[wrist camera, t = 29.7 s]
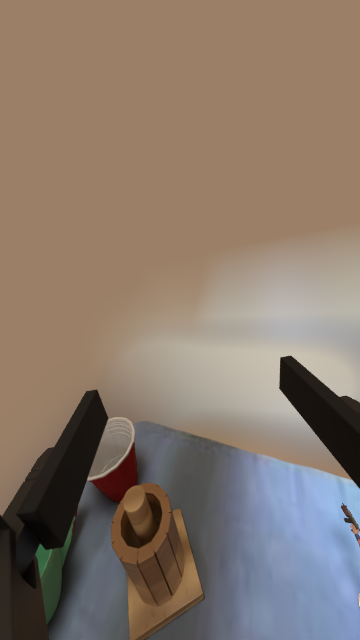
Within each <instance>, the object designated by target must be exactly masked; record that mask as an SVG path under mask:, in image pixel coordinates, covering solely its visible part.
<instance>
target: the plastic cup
mask: <svg viewBox="0 0 360 640" xmlns="http://www.w3.org/2000/svg"><path fill="white" fill-rule="evenodd" d="M134 436H135V430H134V427H133V425H132V422H130V421H129V420H127V419H126V418H119V417H115V418H111V419H108V421H107V424H106V427H105V430H104V433H103V436H102V438H101V441H100V444H99V447H98V450H97V453H96V455H95V458H94V461H93V464H92V467H91V470H90V473H89V475H88V478H87V480H88V481H90V482H92V483H93V484H94V485H95V486H96V487H97V488H98V489H99V490H100V491H101V492H102V493H103V494H105V495H106V496H107V497H108V498H109V499H110V500H112V501H115V502H120V501H121V500H122V499H123V498H124V496H125V494H126V492H127V491H128V490H129V489H130V488H131V487H133V486H136V484H137V462H136V454H135V447H134V445H135V443H134Z"/></svg>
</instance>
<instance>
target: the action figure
mask: <svg viewBox="0 0 360 640" xmlns="http://www.w3.org/2000/svg"><path fill="white" fill-rule="evenodd" d="M342 504H343V503H342ZM346 507H347V506H345V505H344V504H343V506H341V508H342V510H343V512H344V513H345V515H346V516H347V517H349V518H344V520H345V522H347V523H352V524H353V525H351V526H350V527H351V528H352V530H351V531H353V533H354V534H355V537H356V539H357V541H358V543H359V546H360V536H359V535H358V532H359V531H360V529H359V527H358V524H357V523H356V521H355V520H354V518H353V517H352V514H351V513H350V511H349V510H348V509H347V508H346ZM359 606H360V593H359Z"/></svg>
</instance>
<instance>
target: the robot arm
mask: <svg viewBox="0 0 360 640" xmlns="http://www.w3.org/2000/svg"><path fill="white" fill-rule="evenodd" d="M279 389H280V390H281V391H282V392H283V394H284V395H285V396H286V397H287V398H288V400H289V401H290V402H291V404H292V405H293V406H294V407H295V409H296V410H297V411H298V412H299V414H300V415H301V416H302V417H303V419H304V420H305V421H306V422H307V424H308V425H309V426H310V427H311V428H312V430H313V431H314V432H315V434H316V435H317V436H318V437H319V439H320V440H321V441H322V442H323V443H324V445H325V446H326V447H327V449H328V450H329V451H330V452H331V453H332V455H333V456H334V457H335V458H336V460H337V461H338V462H339V463H340V465H341V466H342V467H343V468H344V470H345V471H346V472H347V473H348V475H349V476H350V477H351V478H352V480H353V481H354V482H355V483H356V485H357V486H358V487H359V488H360V403H359V402H358V401H356V400H354V399H352V398H350V397H348V396H342V397H338V396H337V395H336V394H335V393H334V392H333V391H331V390H330V389H329V388H328V387H327V386H326V385H324V384H323V383H322V382H321V381H320V380H318V378H316V377H315V376H314V375H313V374H311V372H309V371H308V370H307V369H306V368H305V367H304V366H302V365H301V364H300V363H299V362H298V361H297V360H296V359H294V358H293V357H292V356H286V357H281V358H280V387H279ZM107 421H108V416H107V414H106V411H105V408H104V406H103V404H102V401H101V399H100V396H99V393H98V391H97V390H92V391H87V392H86V393H85V395H84V396H83V398H82V400H81V402H80V403H79V405H78V407H77V409H76V410H75V412H74V414H73V415H72V417H71V419H70V421H69V423H68V424H67V426H66V428H65V429H64V431H63V433H62V435H61V436H60V438H59V440H58V442H57V443H56V445H55V447H53V448H48V449H47V450H46V451H45V452H44V453H43V454H42V455H41V456H40V457H39V458H38V459H37V461H36V463H35V464H34V466H33V468H32V469H31V472H29V474H28V476H27V477H26V479H25V482H23V484H22V485H21V487H20V489H19V490H18V492H17V493H16V495H15V497H14V498H13V500H12V502H11V503H10V505H9V506H8V508H7V509H6V511H5V513H4V515H3V516H1V515H0V640H49V638H48V631H47V623H46V616H45V609H44V602H43V595H42V588H41V580H40V573H39V566H38V559H37V557H36V555H35V554H36V552H37V549H38V547H39V545H40V544H41V545H42V546H43V548H44V549H45V550H50V549H56V548H62V547H64V544H65V541H66V538H67V535H68V532H69V530H70V527H71V524H72V521H73V518H74V515H75V512H76V510H77V507H78V504H79V501H80V498H81V495H82V493H83V490H84V487H85V484H86V481H87V478H88V475H89V473H90V470H91V467H92V464H93V461H94V458H95V455H96V453H97V450H98V447H99V444H100V441H101V438H102V436H103V433H104V430H105V427H106V424H107Z"/></svg>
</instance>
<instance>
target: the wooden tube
mask: <svg viewBox="0 0 360 640" xmlns="http://www.w3.org/2000/svg"><path fill="white" fill-rule="evenodd" d="M139 486H141V487H142V488H143V489H144V492H145V494H146V497H147V500H148V503H149V505H150V508H151V511H152V514H153V517H154V519H155V522H156V525H157V528H158V532H157V533H156V535H155V536H154V538H153V539H152V541H151V542H150V543H148V544H146V545H144V546H142V547H141V544H140V542H139V540H138V538H137V536H136V533H135V531H134V529H133V527H132V524H131V522H130V520H129V518H128V515H127V513H126V511H125V509H124V506H123V499H124V498H123V499H122V500H121V501H120V504H118V507H117V510H116V512H115V515H114V517H113V520H112V523H113V524H112V525H111V543H112V547H113V549H114V550H115V552H116V554H117V556H118V558H119V559H120V561H121V563H122V565H123V567H124V568H125V570H126V572H127V574H128V576H129V577H130V579H131V581H132V583H133V585H134V586H135V588H136V590H137V592H138V594H139V595H140V597H141V599H142V601H143V602H144V603H146V604H149V605H152V606H156V607H157V606H161V605H162V604H164V603H165V602H167V601H168V600H170V599H171V598H172V595H173V596H174V594H175V592H176V590H177V588H178V586H179V584H180V582H181V580H182V578H181V577H183V569H184V560H185V557H184V551H183V547H182V542H181V539H180V535H179V532H178V528H177V525H176V522H175V518H174V515H173V511H172V508H171V505H170V501H169V498H168V496H167V493H166V492H165V491H164V490H163V489H162V488H161V487H160V486H159V485H158V486H157V484H152V483H145V484H144V483H143V484H141V485H139ZM171 594H172V595H171Z"/></svg>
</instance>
